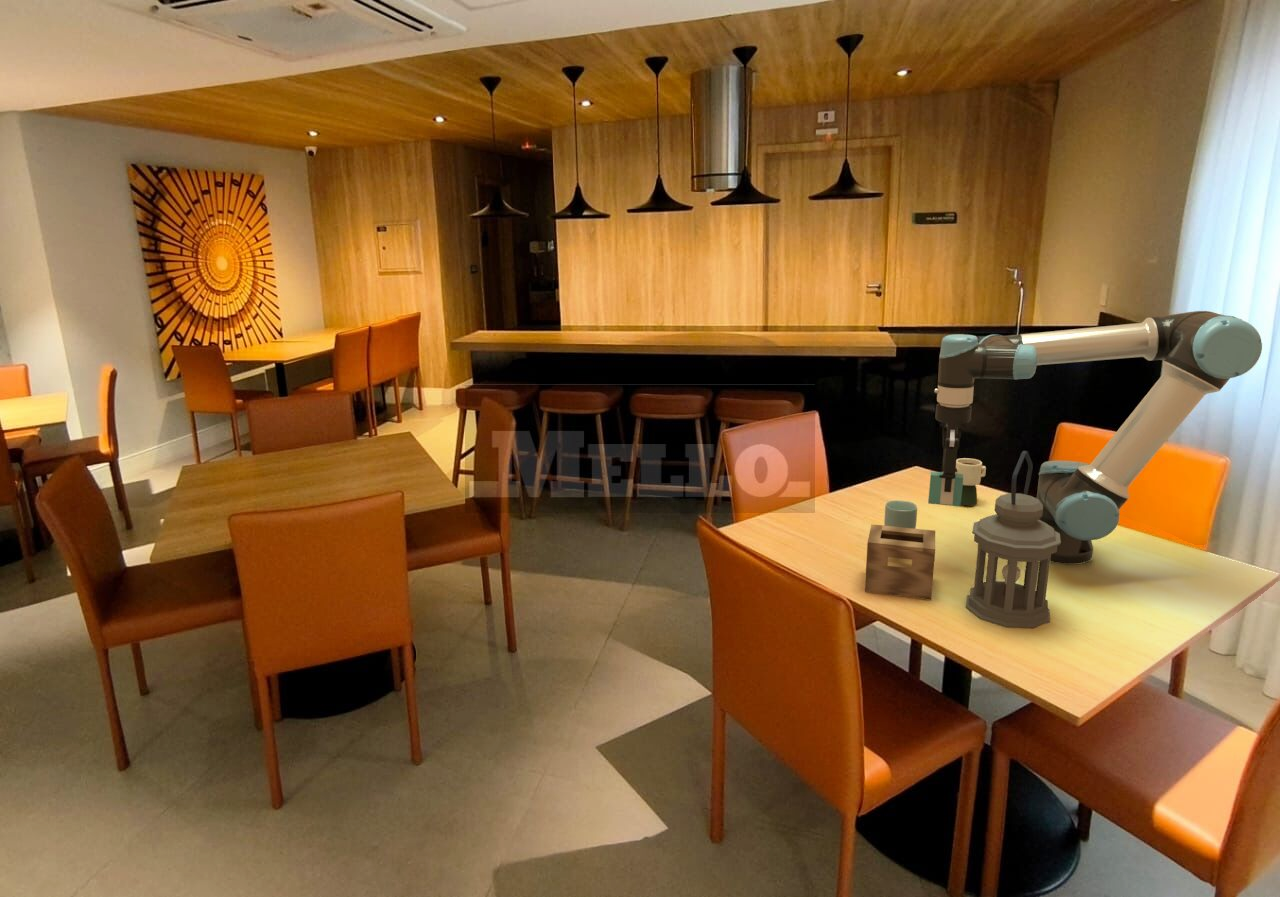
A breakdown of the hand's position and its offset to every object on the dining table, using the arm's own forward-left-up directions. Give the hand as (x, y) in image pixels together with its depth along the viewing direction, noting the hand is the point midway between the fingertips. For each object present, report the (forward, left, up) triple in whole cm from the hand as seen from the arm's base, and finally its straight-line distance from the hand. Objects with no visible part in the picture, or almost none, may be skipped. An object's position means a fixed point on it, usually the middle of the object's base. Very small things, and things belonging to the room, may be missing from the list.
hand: (946, 501), depth 177 cm
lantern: (-13, +19, -17) cm, 28 cm away
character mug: (-7, -46, -17) cm, 49 cm away
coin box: (+9, +14, -16) cm, 23 cm away
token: (0, 0, 0) cm, 1 cm away
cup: (+10, -12, -17) cm, 23 cm away
